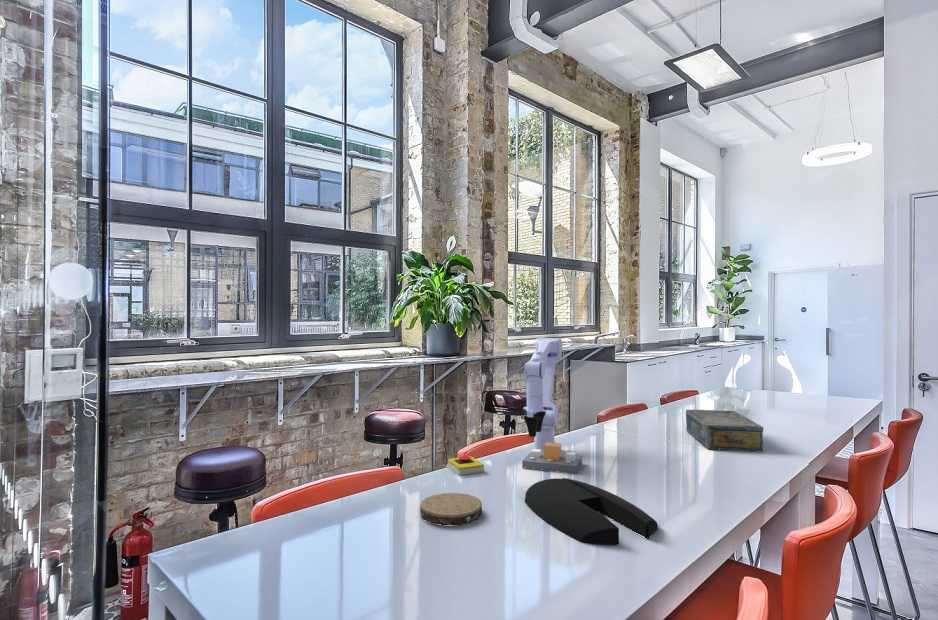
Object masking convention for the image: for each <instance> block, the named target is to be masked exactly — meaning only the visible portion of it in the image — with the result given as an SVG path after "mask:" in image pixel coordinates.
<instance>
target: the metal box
mask: <svg viewBox="0 0 938 620" xmlns="http://www.w3.org/2000/svg"><path fill="white" fill-rule="evenodd" d="M685 421H686V422H685V423H686V426H685V427H686V428H685V429H686V432H687V433H688V435H691V436H692V438H693V439H694V440H696V441H697V442H698V443H699V444H700V445H702V446H703V447H704V449H706V450H707V449H708V451H725V450H748V451H747V452H754V451H762V452H763V448H764V447H763V442H764V440H763V438H764V437H763V433H764V426H763V425H761V424H758V423H756V422H755V421H754V420H751V419H749V418H748V417H746V416H744V415H742V414H741V413H739V412H738V411H735V410H716V409H715V410H714V409H686V410H685ZM719 449H720V450H719Z"/></svg>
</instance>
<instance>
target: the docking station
mask: <svg viewBox="0 0 938 620" xmlns="http://www.w3.org/2000/svg"><path fill="white" fill-rule="evenodd" d="M524 503H525V504H526V506H527V507H528V508H529V509H530V510H531V511H532V512H533V513H534V514H535V515H537V517H539V518H540V519H542V520H543V522H544V523H547V524H548V525H549V526H551V527H553V528H554V529H556V530H557V531H559V532H561V533H563V534H564V535H567V536H568V537H570V538H572V539H574V540H576V541H578V542H581V544H582V543H583V544H584V543H585V544H594V545H595V544H597V545H609V546H611V545H612V546H618V545H617V544H619V545H620V535H619V534H620V528H619V527H618V526H617V524H619V523H620V524H619V525H621V526H622V525H624V526H625V527H624V526H623V527H624V528H626V527H627V528H629V529H631V530H632V531H631V530H630V531H631V532H633V531H634V532H636V533H638V534H640V535H642V536H644V537H645V538H647V537H648V538H647V539H650V538H651V537H652V536H653V535H654V534H655V533H656V532H657V531H658V528H659V526H658V525H659V524H658V522H657V521H656V520H655V519H654V518H653V517H651V515H649V514H648V513H646V512H645V511H644V510H643V509H641V508H640V507H637V506H636V505H635V504H632V503H631V502H629V501H627V500H626V499H624V498H622V497H620V496H618V495H617V494H614V493H613V492H611V491H608V490H606V489H603V488H601V487H598V486H595V485H593V484H590V483H587V482H583V481H580V480H577V479H572V478H568V477H567V478H565V477H562V478H559V477H558V478H547V479H543V480H539V481H537V482H535V483H533V484H531V485H530V486H529V487H528V488H527V489H526V492H525V498H524ZM603 514H604V515H603ZM605 515H606V516H605ZM610 518H611V520H612V519H613V520H612V521H614V522H615V521H616V522H615V523H617V522H618V523H617V524H615V523H613V522H612V521H611V520H609V519H610ZM657 527H658V528H657ZM627 528H626V529H627ZM629 529H628V530H629ZM656 530H657V531H656ZM655 531H656V532H655ZM634 532H633V533H634ZM654 532H655V533H654ZM636 533H635V534H636ZM653 533H654V534H653ZM638 534H637V535H638ZM652 534H653V535H652ZM651 535H652V536H651ZM650 536H651V537H650ZM649 537H650V538H649ZM645 538H644V539H645Z"/></svg>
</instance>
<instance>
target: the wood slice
mask: <svg viewBox="0 0 938 620" xmlns="http://www.w3.org/2000/svg"><path fill="white" fill-rule="evenodd" d="M482 505H483V503H482V501H481V499H480V498H478V497H476V496H475V495H471V494H469V493H459V492H446V493H439V494H438V493H437V494H434V495H430V496H428V497H425V498H424V499H423V500H421V503H420V506H419V507H420V508H419V509H420V513H419V514H421V515H420V517H422V518H423V519H424V520H426V521H428V522H431V523H434V524H441V525H460V526H463V525H462V524H466V525H468V524H467V523H470V524H472V523H474V522H473V521H475V520H477V519H478V518H479V517H480V516H481V517H482V515H481V514H482V513H483V510H482V509H483V506H482ZM481 517H480V518H481ZM422 518H421V519H422ZM480 518H479V519H480ZM423 519H422V520H423ZM479 519H478V520H479ZM424 520H423V521H424ZM478 520H477V521H478ZM426 521H425V522H426ZM428 522H427V523H428ZM471 522H472V523H471ZM475 522H476V521H475ZM431 523H430V524H431Z"/></svg>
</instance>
